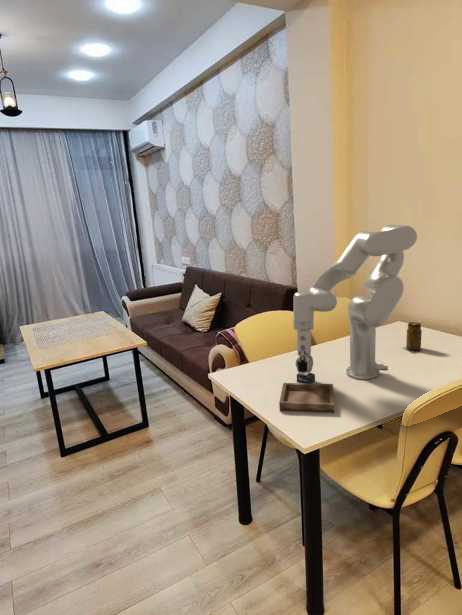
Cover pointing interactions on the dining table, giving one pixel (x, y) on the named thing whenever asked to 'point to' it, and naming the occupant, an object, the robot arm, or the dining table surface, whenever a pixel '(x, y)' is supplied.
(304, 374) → the watch
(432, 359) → the dining table surface
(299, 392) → the tray
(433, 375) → the dining table surface
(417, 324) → the condiment
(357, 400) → the dining table surface
